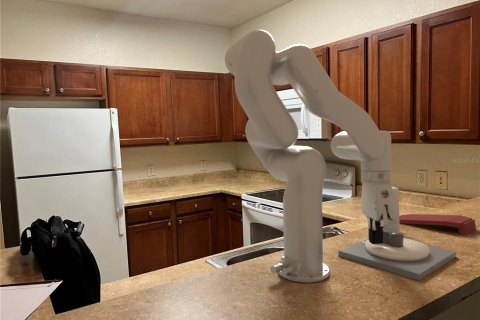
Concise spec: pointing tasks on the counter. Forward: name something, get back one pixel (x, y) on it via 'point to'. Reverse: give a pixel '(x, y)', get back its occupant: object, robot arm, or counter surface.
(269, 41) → the robot arm
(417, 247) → the dial
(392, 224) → the skincare box
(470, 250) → the counter surface
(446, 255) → the dial plate
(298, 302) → the counter surface
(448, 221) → the dark red ramp
